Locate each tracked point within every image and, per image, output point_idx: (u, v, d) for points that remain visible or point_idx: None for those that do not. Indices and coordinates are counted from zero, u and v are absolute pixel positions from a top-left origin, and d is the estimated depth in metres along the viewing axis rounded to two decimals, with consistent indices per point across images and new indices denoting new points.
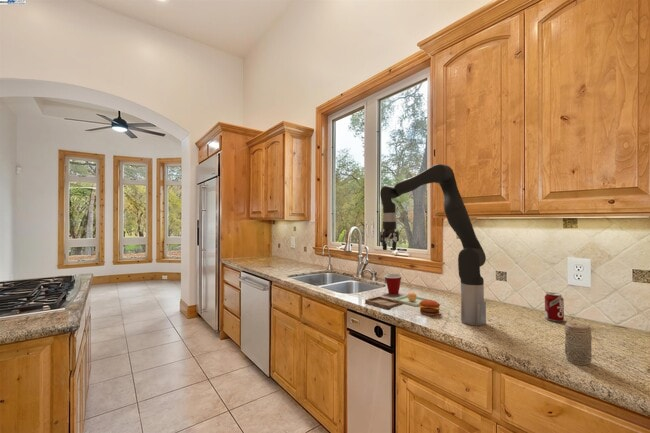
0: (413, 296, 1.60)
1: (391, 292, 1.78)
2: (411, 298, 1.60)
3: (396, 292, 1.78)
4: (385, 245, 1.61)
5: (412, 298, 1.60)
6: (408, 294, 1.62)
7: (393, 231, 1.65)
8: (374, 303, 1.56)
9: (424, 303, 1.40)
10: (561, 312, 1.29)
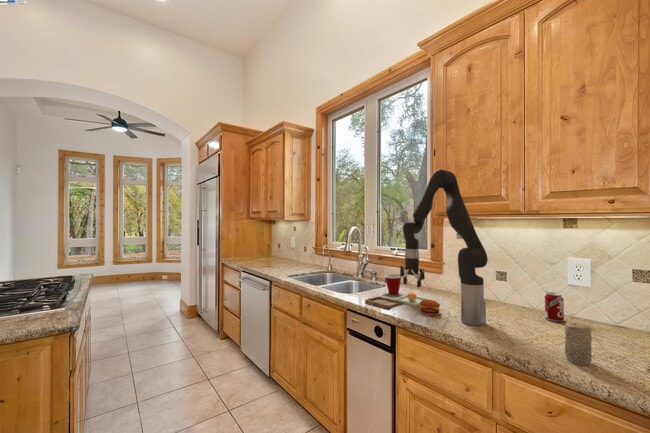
0: (413, 296, 1.60)
1: (391, 292, 1.78)
2: (411, 298, 1.60)
3: (396, 292, 1.78)
4: None
5: (412, 298, 1.60)
6: (408, 294, 1.62)
7: None
8: (374, 303, 1.56)
9: (424, 303, 1.40)
10: (561, 312, 1.29)
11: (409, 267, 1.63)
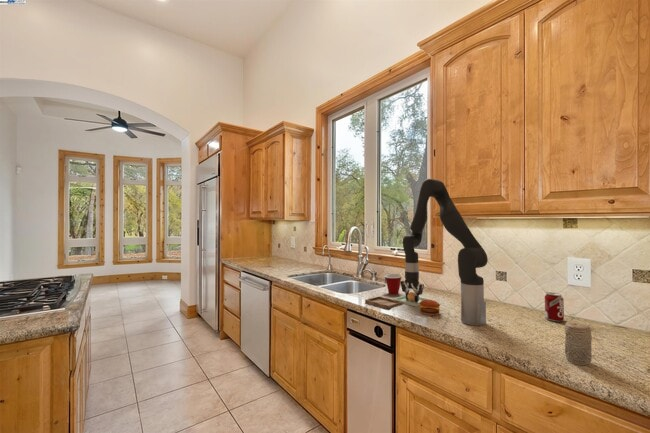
0: (413, 296, 1.60)
1: (391, 292, 1.78)
2: (411, 298, 1.60)
3: (396, 292, 1.78)
4: None
5: (412, 298, 1.60)
6: (408, 294, 1.62)
7: None
8: (374, 303, 1.56)
9: (424, 303, 1.40)
10: (561, 312, 1.29)
11: (409, 281, 1.63)
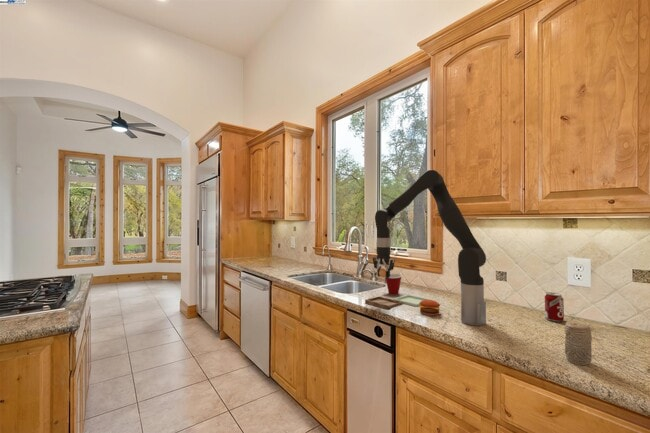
0: (384, 272, 1.57)
1: (391, 292, 1.78)
2: (382, 274, 1.57)
3: (396, 292, 1.78)
4: None
5: (383, 274, 1.57)
6: None
7: None
8: (374, 303, 1.56)
9: (424, 303, 1.40)
10: (561, 312, 1.29)
11: (380, 256, 1.59)
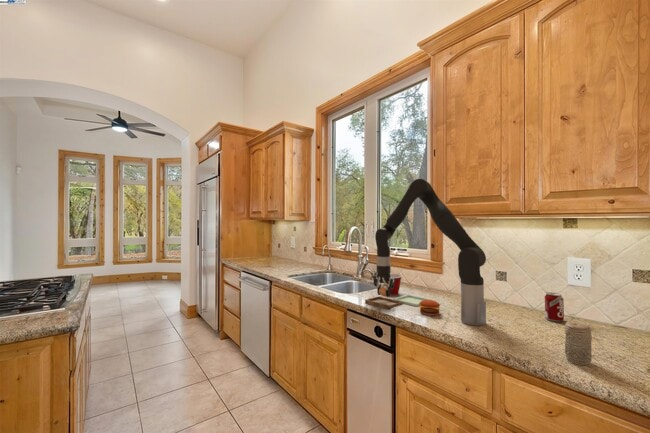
0: (384, 290, 1.57)
1: (391, 292, 1.78)
2: (382, 293, 1.57)
3: (396, 292, 1.78)
4: None
5: (383, 293, 1.57)
6: None
7: None
8: (374, 303, 1.56)
9: (424, 303, 1.40)
10: (561, 312, 1.29)
11: (380, 275, 1.59)
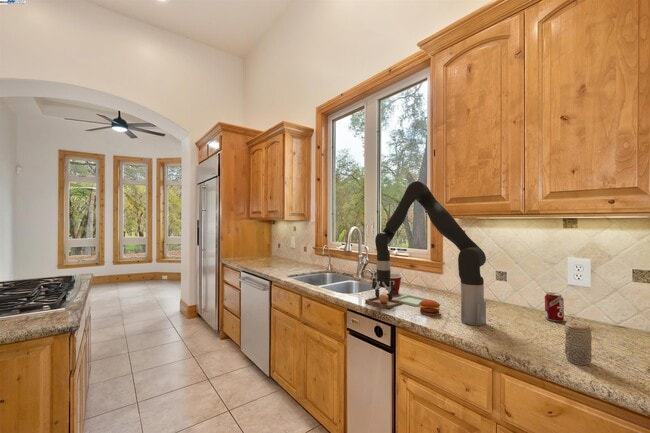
0: (384, 298, 1.56)
1: None
2: (382, 300, 1.57)
3: (396, 292, 1.78)
4: None
5: (383, 300, 1.56)
6: (380, 296, 1.59)
7: None
8: (374, 303, 1.56)
9: (424, 303, 1.40)
10: (561, 312, 1.29)
11: (381, 279, 1.59)
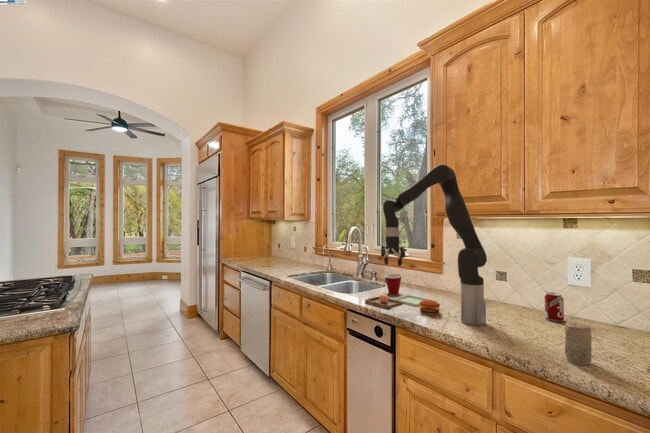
0: (384, 298, 1.56)
1: (391, 292, 1.78)
2: (382, 300, 1.57)
3: (396, 292, 1.78)
4: None
5: (383, 300, 1.56)
6: (380, 296, 1.59)
7: None
8: (374, 303, 1.56)
9: (424, 303, 1.40)
10: (561, 312, 1.29)
11: (390, 246, 1.61)
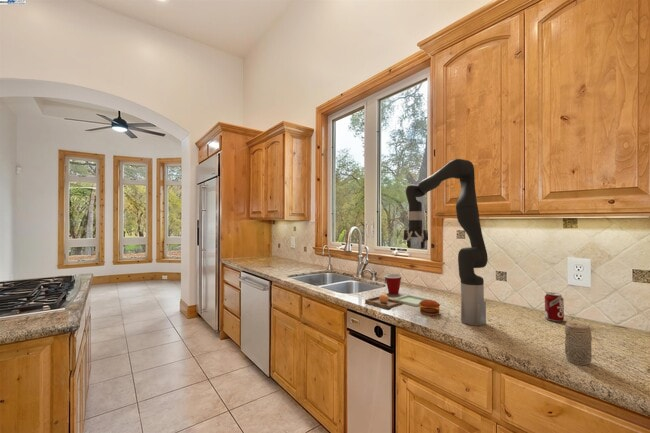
0: (384, 298, 1.57)
1: (391, 292, 1.78)
2: (382, 300, 1.57)
3: (396, 292, 1.78)
4: None
5: (383, 300, 1.56)
6: (379, 296, 1.59)
7: None
8: (374, 303, 1.56)
9: (424, 303, 1.40)
10: (561, 312, 1.29)
11: (413, 229, 1.66)
